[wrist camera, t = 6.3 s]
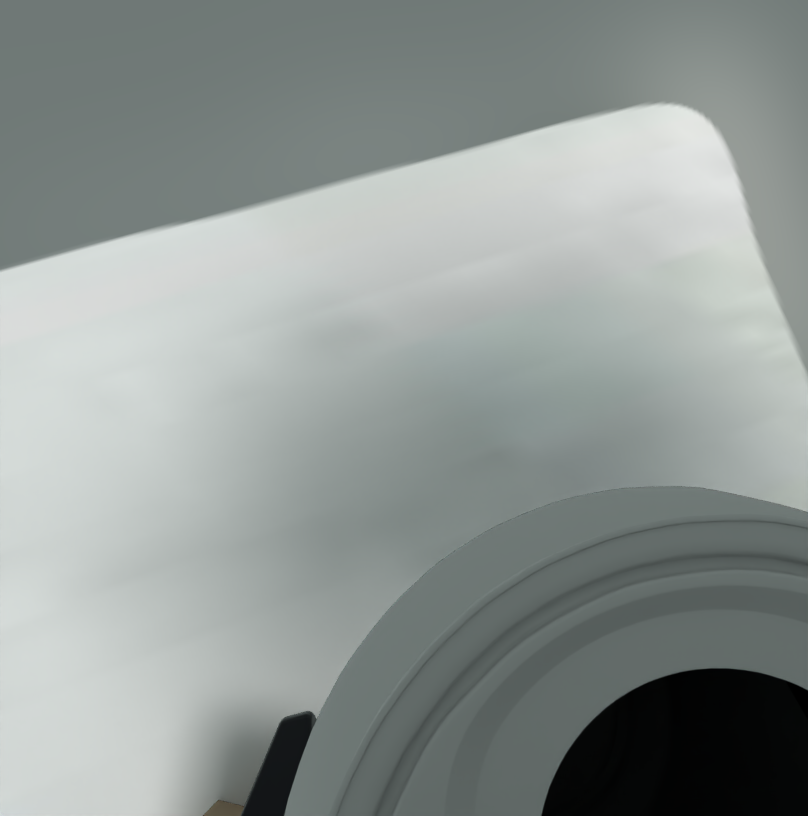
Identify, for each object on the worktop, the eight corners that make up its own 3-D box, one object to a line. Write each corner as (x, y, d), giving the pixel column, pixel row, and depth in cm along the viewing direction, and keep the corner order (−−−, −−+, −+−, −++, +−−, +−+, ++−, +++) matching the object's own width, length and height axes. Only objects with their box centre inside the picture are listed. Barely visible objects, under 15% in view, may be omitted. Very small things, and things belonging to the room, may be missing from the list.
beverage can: (599, 522, 16) (1034, 334, 5) (708, 814, 15) (1819, 1661, 3) (340, 601, 16) (118, 611, 4) (420, 909, 14) (404, 2272, 3)
